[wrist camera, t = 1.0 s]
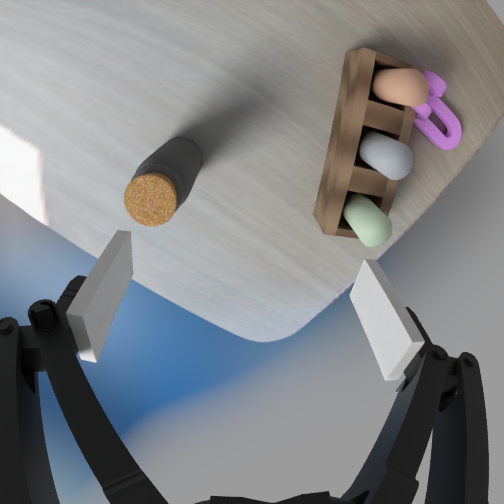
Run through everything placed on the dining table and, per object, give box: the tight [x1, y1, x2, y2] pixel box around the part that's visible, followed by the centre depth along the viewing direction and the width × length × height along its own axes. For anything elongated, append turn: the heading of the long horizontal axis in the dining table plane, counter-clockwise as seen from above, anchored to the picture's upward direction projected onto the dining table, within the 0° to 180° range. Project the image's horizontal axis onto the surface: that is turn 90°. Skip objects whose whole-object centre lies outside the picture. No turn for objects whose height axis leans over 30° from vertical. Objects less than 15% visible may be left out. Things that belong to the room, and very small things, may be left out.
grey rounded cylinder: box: [357, 132, 413, 180], centre depth 30 cm, size 4×4×6 cm
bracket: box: [411, 69, 462, 150], centre depth 31 cm, size 13×6×7 cm, turn 59°
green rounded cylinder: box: [342, 193, 392, 247], centre depth 34 cm, size 4×4×6 cm
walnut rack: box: [313, 47, 423, 239], centre depth 34 cm, size 23×8×6 cm, turn 172°
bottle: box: [124, 138, 202, 226], centre depth 31 cm, size 6×6×15 cm
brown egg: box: [370, 69, 429, 107], centre depth 26 cm, size 4×4×6 cm
